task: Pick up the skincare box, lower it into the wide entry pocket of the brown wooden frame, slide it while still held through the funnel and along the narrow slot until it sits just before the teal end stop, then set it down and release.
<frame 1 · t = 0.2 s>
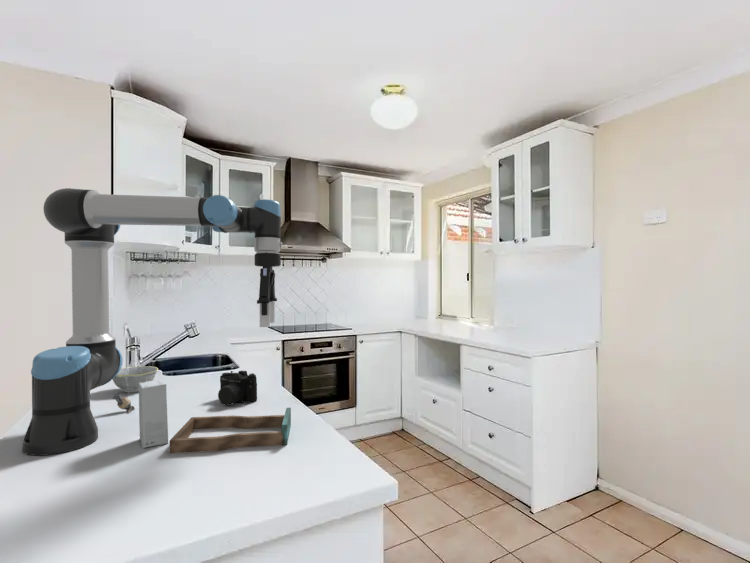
hand: (267, 324, 125), 28 cm above the table, fingers open, 13 cm apart
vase: (122, 412, 131), on the table
brown wooden frame: (238, 436, 109), on the table
skincare box: (153, 442, 106), on the table
bowl: (134, 390, 158), on the table
camera: (233, 403, 142), on the table
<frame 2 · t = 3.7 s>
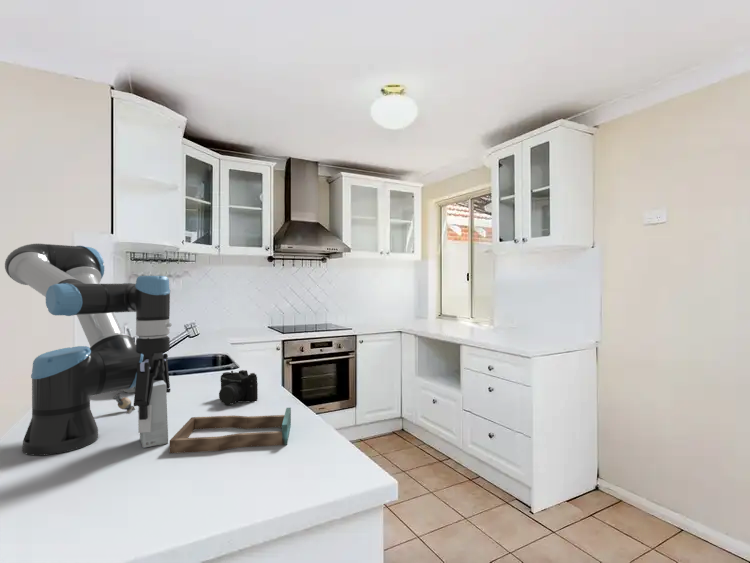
hand: (153, 424, 107), 4 cm above the table, fingers closed on skincare box, 9 cm apart
skincare box: (153, 442, 106), on the table, touching gripper
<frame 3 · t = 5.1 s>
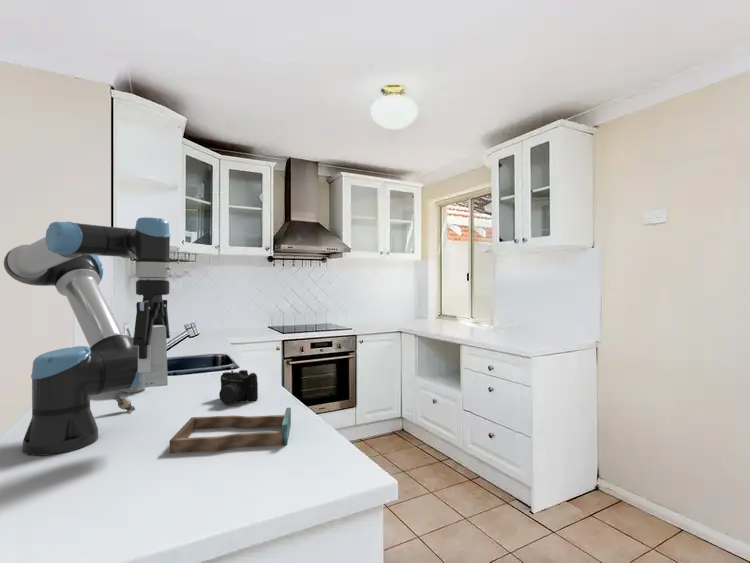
hand: (152, 367, 107), 19 cm above the table, fingers closed on skincare box, 9 cm apart
skincare box: (152, 384, 107), point 14 cm above the table, touching gripper
everything else where it was.
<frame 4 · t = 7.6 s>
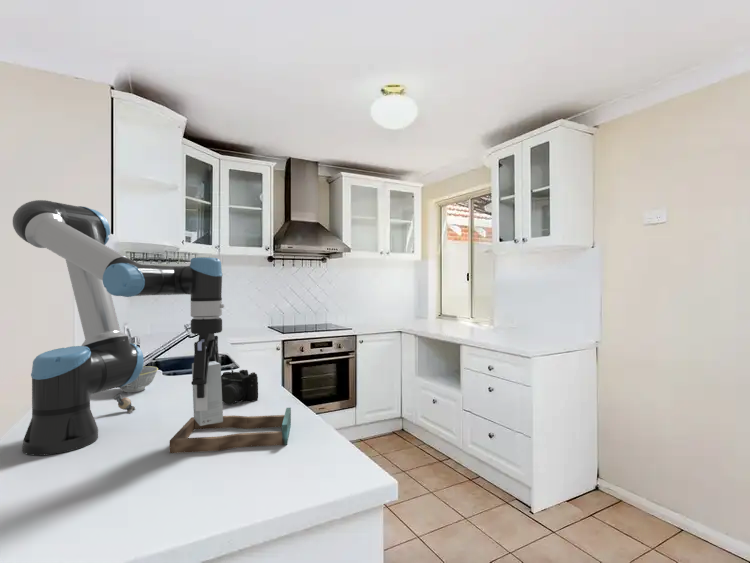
hand: (207, 404, 108), 9 cm above the table, fingers closed on skincare box, 9 cm apart
skincare box: (207, 421, 108), point 4 cm above the table, touching gripper
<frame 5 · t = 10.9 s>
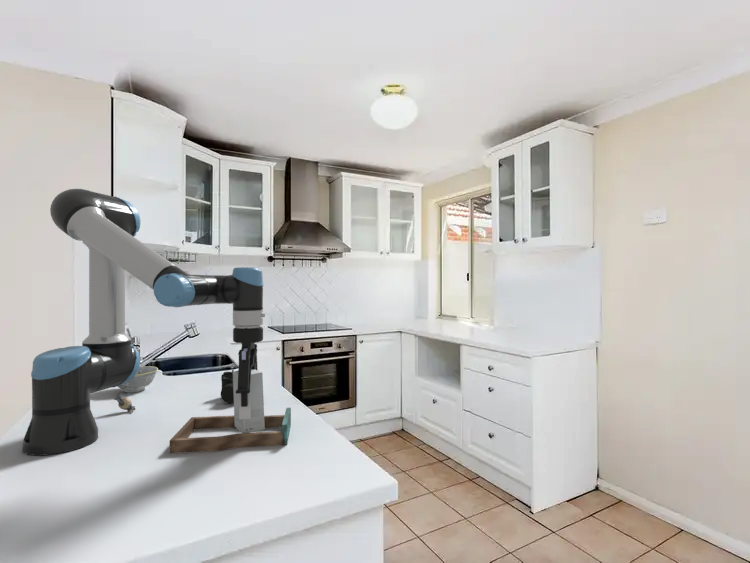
hand: (248, 412, 110), 6 cm above the table, fingers closed on skincare box, 9 cm apart
skincare box: (248, 429, 110), point 2 cm above the table, touching gripper
when the fingers open (5 cm above the table, at t = 13.4 s): skincare box stays where it is, resting in brown wooden frame.
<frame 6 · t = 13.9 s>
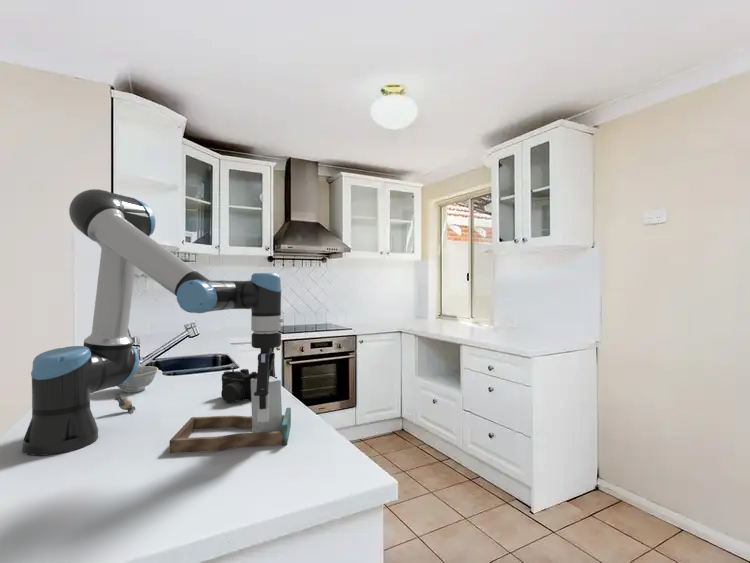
hand: (266, 413, 110), 6 cm above the table, fingers open, 13 cm apart
skincare box: (266, 436, 111), resting in brown wooden frame
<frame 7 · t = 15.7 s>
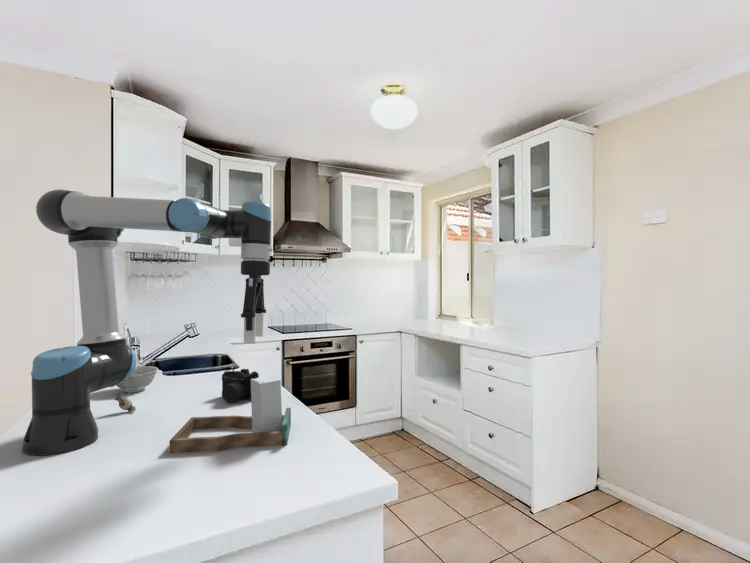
hand: (253, 339, 113), 25 cm above the table, fingers open, 13 cm apart
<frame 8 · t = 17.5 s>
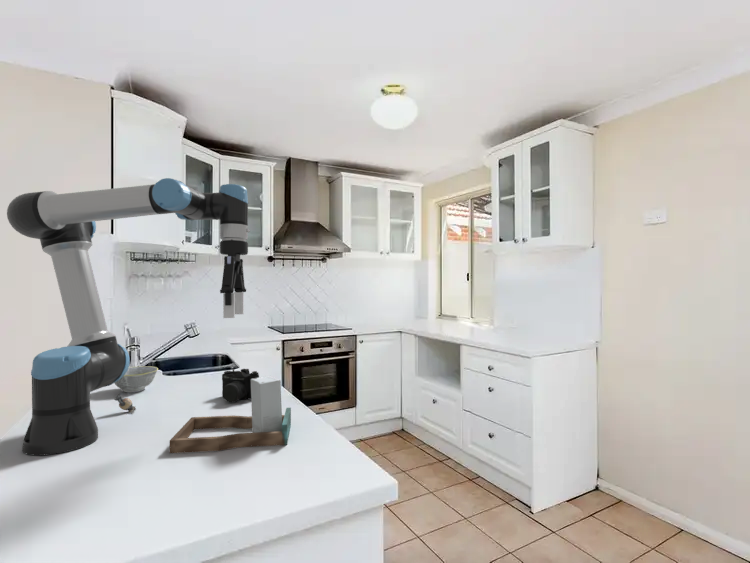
hand: (234, 316, 118), 31 cm above the table, fingers open, 13 cm apart
at the end: skincare box inside the target area on the brown wooden frame (0.9 cm from its centre), point 0.0 cm above the brown wooden frame's base; skincare box tilted 0°; the gripper is holding nothing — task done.
